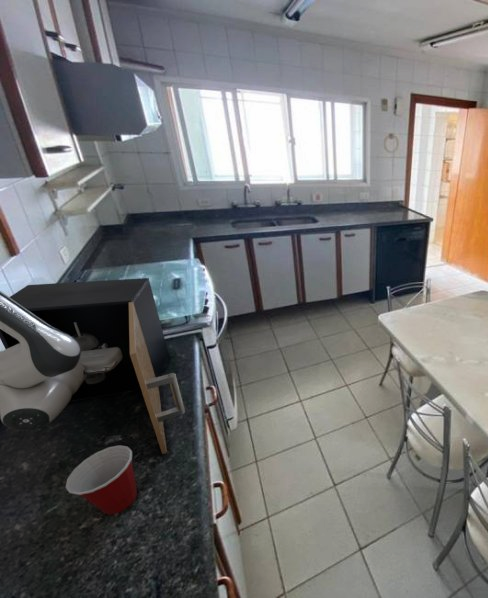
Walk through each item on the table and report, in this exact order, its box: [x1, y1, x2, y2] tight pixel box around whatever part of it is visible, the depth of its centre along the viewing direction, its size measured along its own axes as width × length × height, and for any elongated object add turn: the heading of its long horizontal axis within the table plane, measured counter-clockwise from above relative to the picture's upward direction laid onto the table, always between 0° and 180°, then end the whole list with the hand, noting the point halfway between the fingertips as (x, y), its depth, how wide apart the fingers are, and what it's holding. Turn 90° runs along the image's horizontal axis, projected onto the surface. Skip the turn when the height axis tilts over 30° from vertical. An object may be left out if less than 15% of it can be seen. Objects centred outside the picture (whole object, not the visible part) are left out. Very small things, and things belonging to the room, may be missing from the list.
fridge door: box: [129, 302, 186, 455], centre depth 90 cm, size 7×30×31 cm, turn 37°
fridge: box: [0, 277, 170, 404], centre depth 101 cm, size 18×30×32 cm, turn 112°
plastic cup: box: [65, 445, 138, 515], centre depth 70 cm, size 11×11×12 cm
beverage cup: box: [72, 322, 106, 384], centre depth 95 cm, size 7×7×20 cm
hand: (85, 347), depth 95 cm, fingers closed on beverage cup, 7 cm apart
